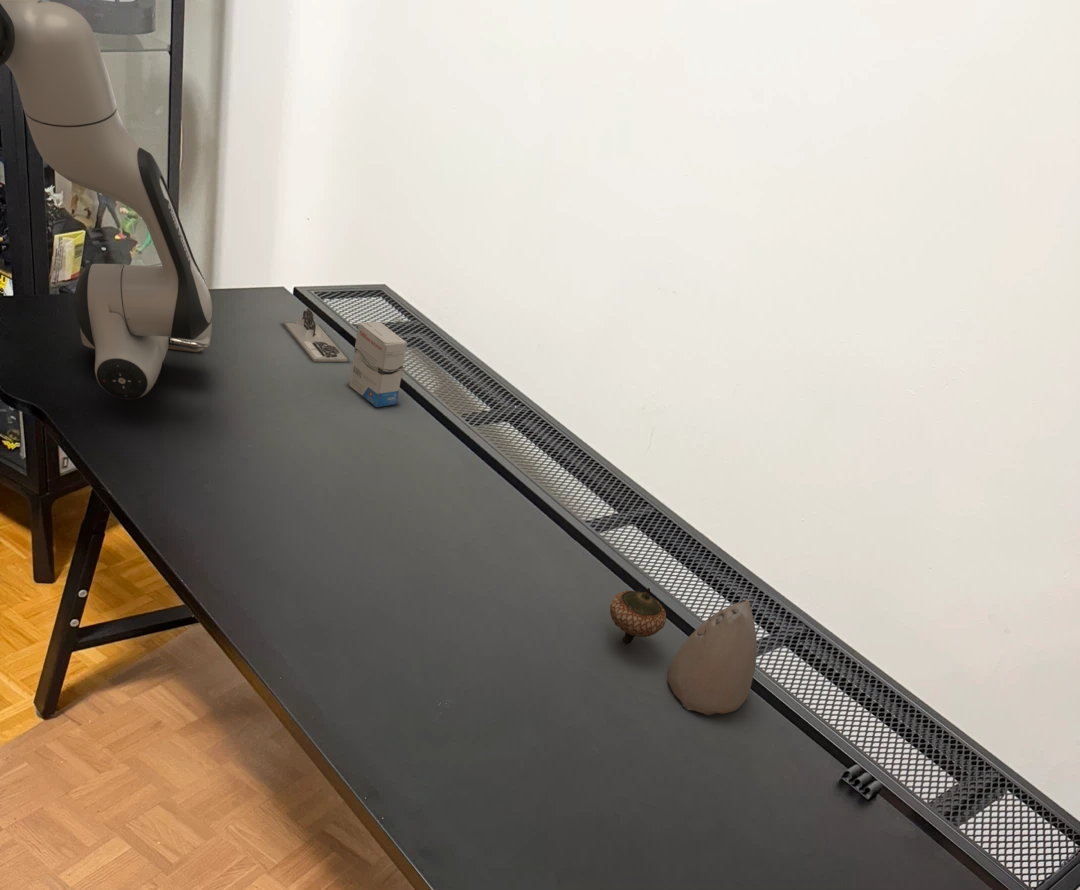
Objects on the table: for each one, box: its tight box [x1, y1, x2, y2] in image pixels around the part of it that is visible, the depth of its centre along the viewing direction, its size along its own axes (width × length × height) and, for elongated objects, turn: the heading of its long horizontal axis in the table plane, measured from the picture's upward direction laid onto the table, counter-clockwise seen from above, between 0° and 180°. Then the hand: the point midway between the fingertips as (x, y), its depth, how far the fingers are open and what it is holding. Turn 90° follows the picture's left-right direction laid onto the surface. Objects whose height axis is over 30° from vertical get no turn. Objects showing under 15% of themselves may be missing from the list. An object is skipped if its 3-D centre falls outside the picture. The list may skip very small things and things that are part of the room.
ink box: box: [348, 321, 408, 408], centre depth 179 cm, size 9×5×12 cm, turn 42°
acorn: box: [609, 587, 667, 646], centre depth 143 cm, size 8×8×10 cm
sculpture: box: [667, 598, 758, 716], centre depth 138 cm, size 13×12×15 cm
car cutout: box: [283, 308, 349, 363], centre depth 192 cm, size 15×7×4 cm, turn 31°
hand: (152, 303), depth 170 cm, fingers open, 8 cm apart
